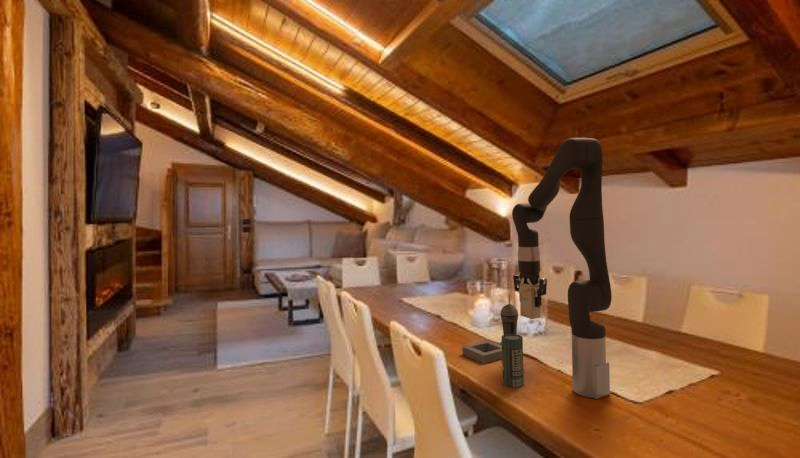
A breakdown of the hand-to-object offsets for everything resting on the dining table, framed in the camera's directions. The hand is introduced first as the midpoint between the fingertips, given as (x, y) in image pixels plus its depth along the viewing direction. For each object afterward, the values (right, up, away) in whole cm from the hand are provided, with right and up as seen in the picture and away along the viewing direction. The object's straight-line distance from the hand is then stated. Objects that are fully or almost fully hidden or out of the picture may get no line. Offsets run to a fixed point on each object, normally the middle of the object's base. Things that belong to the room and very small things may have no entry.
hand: (530, 305), depth 152 cm
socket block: (-14, -20, +7) cm, 26 cm away
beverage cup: (-2, -19, +22) cm, 29 cm away
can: (-11, -22, -18) cm, 30 cm away
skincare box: (0, -4, 0) cm, 4 cm away
